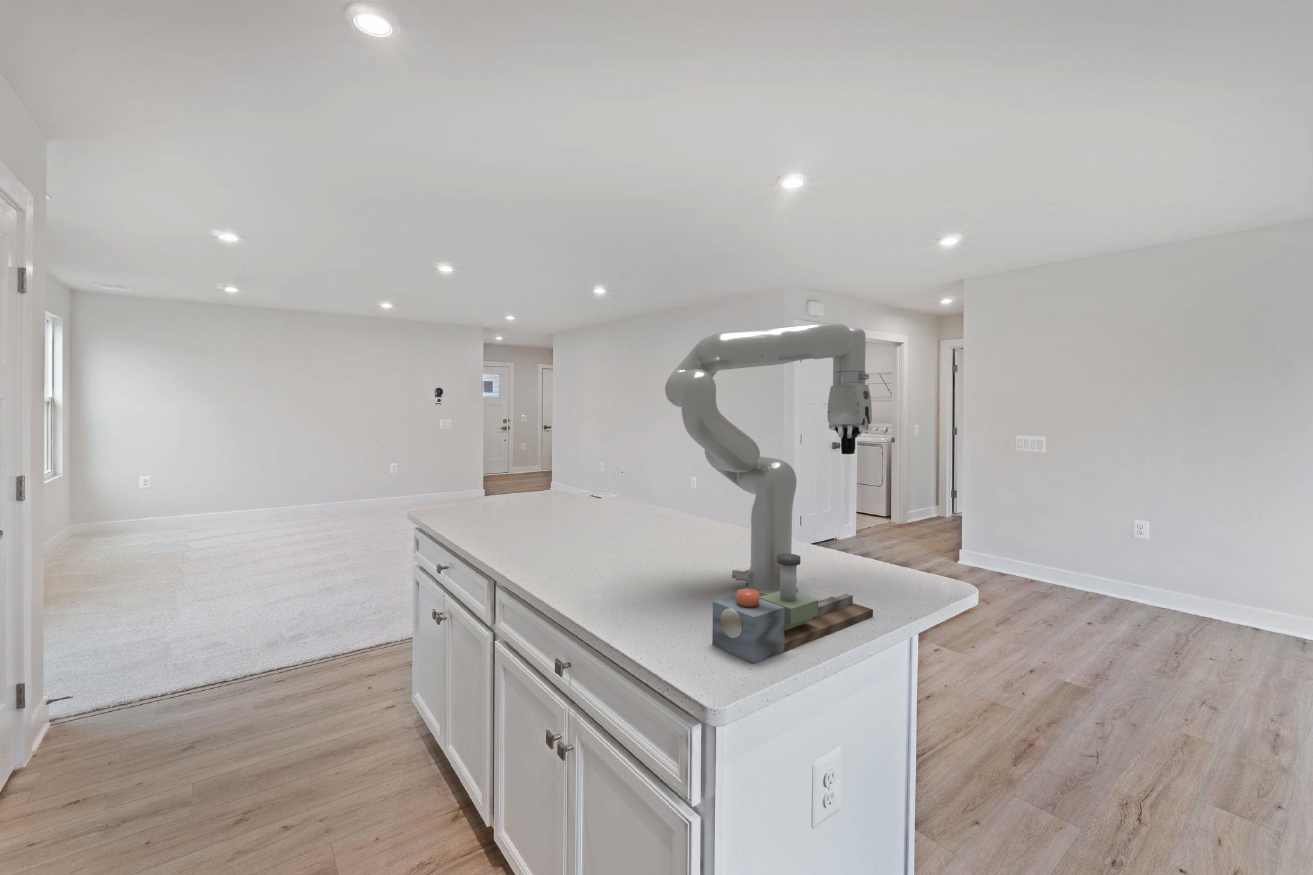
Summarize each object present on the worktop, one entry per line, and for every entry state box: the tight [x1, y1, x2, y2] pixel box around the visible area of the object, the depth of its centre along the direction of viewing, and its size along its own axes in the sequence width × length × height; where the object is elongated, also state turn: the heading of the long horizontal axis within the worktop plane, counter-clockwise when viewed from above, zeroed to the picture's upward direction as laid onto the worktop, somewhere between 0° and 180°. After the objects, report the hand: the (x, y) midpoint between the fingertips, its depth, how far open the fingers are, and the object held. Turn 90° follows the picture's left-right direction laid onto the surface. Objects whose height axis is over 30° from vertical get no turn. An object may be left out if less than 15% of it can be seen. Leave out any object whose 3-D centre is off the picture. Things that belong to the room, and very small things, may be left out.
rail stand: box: [711, 593, 874, 664], centre depth 111 cm, size 37×10×8 cm, turn 128°
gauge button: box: [736, 588, 760, 607], centre depth 102 cm, size 4×4×2 cm
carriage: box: [759, 553, 819, 631], centre depth 109 cm, size 8×8×13 cm
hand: (848, 453), depth 141 cm, fingers closed
